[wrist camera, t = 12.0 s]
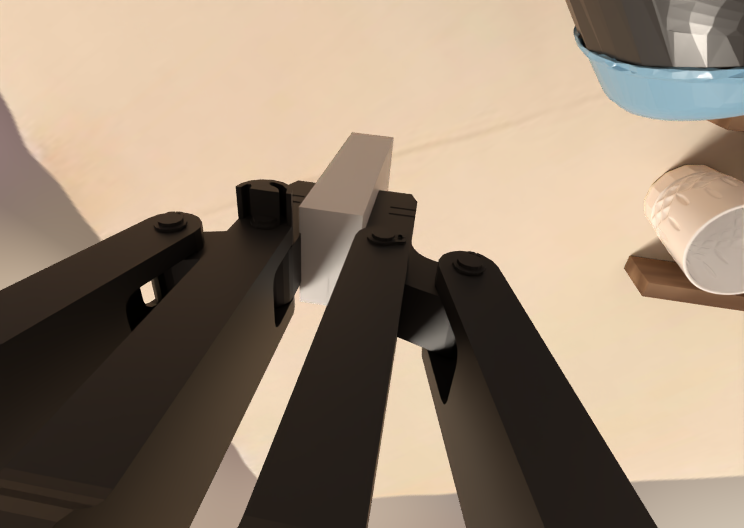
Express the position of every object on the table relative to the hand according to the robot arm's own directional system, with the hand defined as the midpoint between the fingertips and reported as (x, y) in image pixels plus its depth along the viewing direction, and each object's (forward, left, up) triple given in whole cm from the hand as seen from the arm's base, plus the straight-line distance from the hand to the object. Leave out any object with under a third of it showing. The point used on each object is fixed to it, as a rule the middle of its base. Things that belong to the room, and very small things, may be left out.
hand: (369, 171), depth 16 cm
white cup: (+8, +26, -27) cm, 38 cm away
